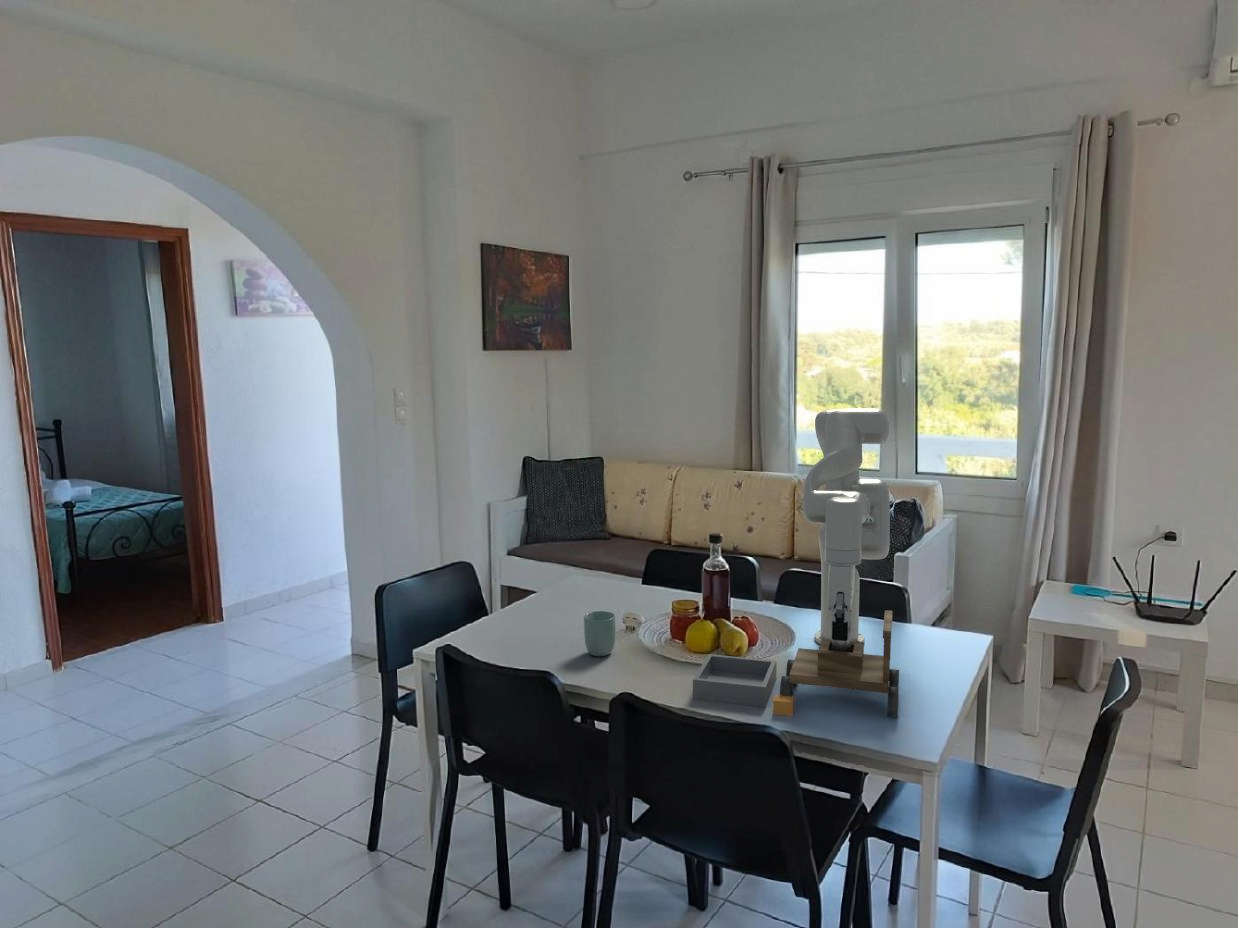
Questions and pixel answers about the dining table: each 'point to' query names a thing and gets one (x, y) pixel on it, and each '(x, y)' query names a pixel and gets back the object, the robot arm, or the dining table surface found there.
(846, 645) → the pin
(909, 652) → the dining table surface
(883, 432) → the robot arm
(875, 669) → the trolley
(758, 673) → the tray
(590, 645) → the cup
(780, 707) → the orange block
